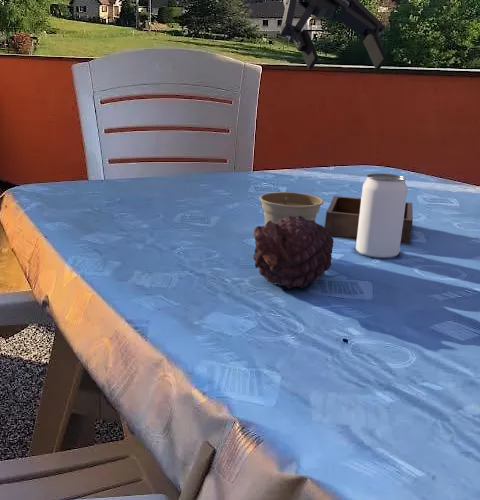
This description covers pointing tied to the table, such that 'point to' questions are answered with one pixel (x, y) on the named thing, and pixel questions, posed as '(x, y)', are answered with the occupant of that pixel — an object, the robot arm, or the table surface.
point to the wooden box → (357, 218)
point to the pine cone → (292, 251)
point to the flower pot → (289, 205)
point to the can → (381, 215)
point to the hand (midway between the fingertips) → (348, 64)
